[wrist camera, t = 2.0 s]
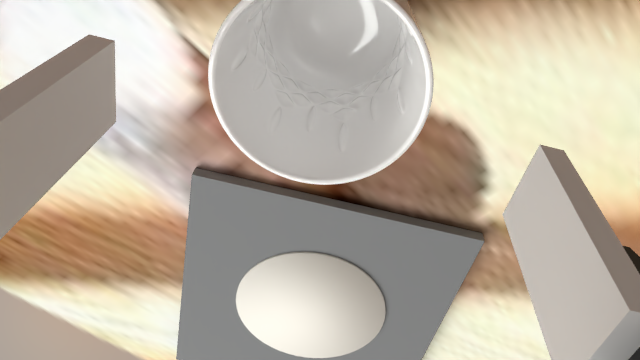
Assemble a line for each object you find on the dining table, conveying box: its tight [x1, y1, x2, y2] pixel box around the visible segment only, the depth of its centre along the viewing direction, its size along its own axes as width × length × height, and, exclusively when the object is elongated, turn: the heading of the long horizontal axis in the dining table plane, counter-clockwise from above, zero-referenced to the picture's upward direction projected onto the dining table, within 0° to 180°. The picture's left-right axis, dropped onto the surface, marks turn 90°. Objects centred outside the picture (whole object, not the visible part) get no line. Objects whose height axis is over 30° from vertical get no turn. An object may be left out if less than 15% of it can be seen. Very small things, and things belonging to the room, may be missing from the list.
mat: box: [176, 168, 484, 360], centre depth 37 cm, size 19×19×1 cm
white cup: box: [208, 0, 433, 185], centre depth 22 cm, size 8×8×10 cm
